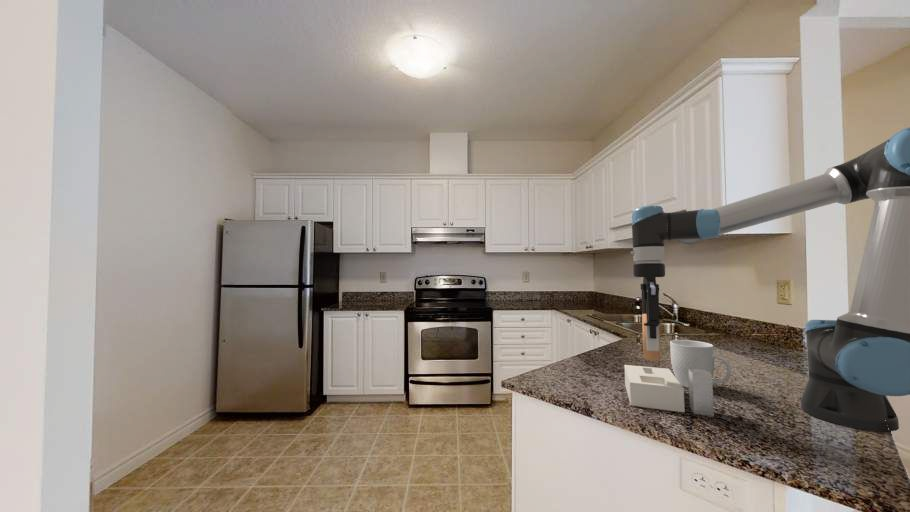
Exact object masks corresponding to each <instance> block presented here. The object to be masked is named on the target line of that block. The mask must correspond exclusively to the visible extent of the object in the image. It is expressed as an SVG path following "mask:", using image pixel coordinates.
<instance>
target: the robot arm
mask: <svg viewBox="0 0 910 512" xmlns="http://www.w3.org/2000/svg"><path fill="white" fill-rule="evenodd" d="M868 199H871V200H873V202H874V206H873V211H872V216H871V219H870V223H869V228H868V232H867V236H866V241H865V246H864V248H863V249H864V250H863V254H862V258H861V262H860V267H859V271H858V273H857V274H858V276H857V278H856V279H857V280H856V283H855V287H854V292H853V296H852V300H851V305H850V309H849V311H848V312H847V313H845V314H842V315H840V316H837V318H836V319H810V320H808V321H807V322H806V324H805V325H806V326H805V331H804V333H805V336H806V351H807V364H808V367H807V368H808V381H807V383H806V385H805V387H804V391H803V393H802V394H801V398H800V408H801V410H802V411H803V412H805V413H806V414H809V415H811V416H813V417H815V418H818V419H820V420H823V421H827V422H828V423H829V422H830V423H832V424H833V423H834V424H838V425H841V426H845V427H850V428H855V429H859V430H860V429H861V430H868V431H876V432H895V431H898V430H899V429H900V424H899V418H898V416H897V414H896V412H895V410H894V407H893V406H892V404H891V402H890V401H889V399H888V397H901V396H902V397H904V396H909V395H910V126H909V127H906V128H904V129H901V130H900V131H898V132H896V133H895V134H893V135H892V136H891V137H890V138H888V139H886V140H885V141H884V142H882V143H880V144H878V145H876V146H875V147H873V148H871V149H870V150H868V151H866V152H864V153H863V154H860V155H859V156H857V157H855V158H852V159H850V160H848V161H845V162H843V163H841V164H838V165H836V166H831V167H829V168H827V169H826V170H825V172H824V173H823V174H820V175H818V176H814V177H811V178H808V179H804V180H801V181H797V182H795V183H791V184H788V185H786V186H782V187H780V188H779V187H778V188H775V189H773V190H769V191H766V192H763V193H760V194H758V195H754V196H751V197H747V198H745V199H744V198H743V199H741V200H738V201H734V202H732V203H728V204H725V205H722V206H721V205H720V206H718V207H716V208H713V209H704V208H701V209H695V210H686V211H685V210H684V211H676V212H675V211H674V212H664V210H663V209H664V208H663V206H661V205H648V206H647V205H646V206H640V207H637V208H635V209H633V210H632V213H631V214H632V216H631V235H632V237H631V238H632V251H630V255H633V256H632V258H633V262H635V263H634V264H633V266H632V267H633V276H634V278H635V277H636V278H642V283H640V290H641V305H642V307H641V308H642V310H641V311H642V314H647V323H644V326H646V338H647V350H650V351H659V336H658V325H659V326H660V324H661V321H660V299H659V296H660V285H659V284H658V283H657V280H656V278H664V277H666V265H665V264H664V263H663V262H665V260H666V258H665V256H666V255H665V254H666V253H665V251H666V249H665V241H678V242H680V243H682V244H686V245H690V244H691V245H692V244H695V243H697V242H698V243H699V242H700V241H703V240H707V239H716V238H718V237H719V236H721V235H724V234H727V233H731V232H734V231H739V230H742V229H745V228H749V227H753V226H756V225H759V224H763V223H767V222H770V221H773V220H778V219H782V218H785V217H788V216H792V215H796V214H800V213H803V212H807V211H811V210H815V209H818V208H821V207H824V206H825V207H826V206H828V205H832V204H835V203H837V204H841V205H848V204H851V203H855V202H858V201H859V202H860V201H864V200H868ZM885 420H886V421H885ZM887 425H888V426H887ZM888 428H889V430H890V431H889V430H888Z"/></svg>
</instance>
